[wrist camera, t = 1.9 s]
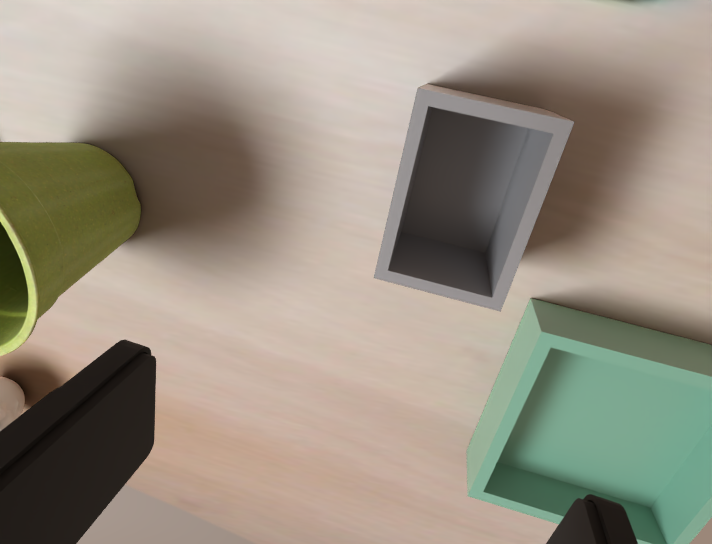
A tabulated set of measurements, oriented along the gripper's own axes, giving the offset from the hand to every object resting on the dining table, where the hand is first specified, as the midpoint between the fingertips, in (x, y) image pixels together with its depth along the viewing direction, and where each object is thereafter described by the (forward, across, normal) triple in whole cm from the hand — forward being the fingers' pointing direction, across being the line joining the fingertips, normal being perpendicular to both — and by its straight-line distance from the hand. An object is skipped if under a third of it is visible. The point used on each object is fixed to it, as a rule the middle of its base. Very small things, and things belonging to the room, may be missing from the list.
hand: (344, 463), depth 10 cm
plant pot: (+20, +22, +5) cm, 30 cm away
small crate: (+20, -2, -3) cm, 20 cm away
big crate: (+20, -15, +10) cm, 27 cm away
